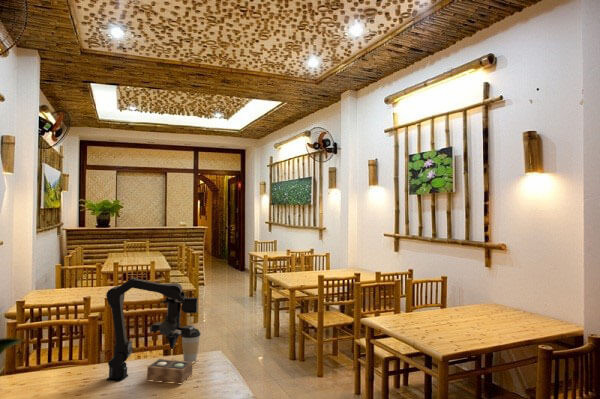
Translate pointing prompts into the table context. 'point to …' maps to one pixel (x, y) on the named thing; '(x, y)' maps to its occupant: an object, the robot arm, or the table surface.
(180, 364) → the sage peg
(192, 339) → the coffee cup
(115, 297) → the robot arm
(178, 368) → the walnut block
